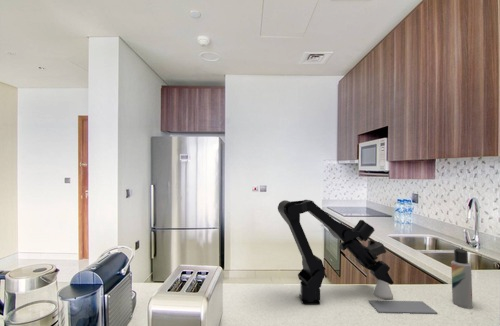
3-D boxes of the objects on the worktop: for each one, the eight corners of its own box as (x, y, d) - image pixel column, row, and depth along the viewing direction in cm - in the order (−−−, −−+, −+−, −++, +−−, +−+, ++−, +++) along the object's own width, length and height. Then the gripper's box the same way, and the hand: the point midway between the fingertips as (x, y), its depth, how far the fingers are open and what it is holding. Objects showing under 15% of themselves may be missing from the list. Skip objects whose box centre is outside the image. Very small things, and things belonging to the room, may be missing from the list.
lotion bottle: (468, 302, 95) (466, 248, 96) (475, 309, 90) (473, 252, 90) (449, 299, 97) (448, 246, 98) (456, 306, 91) (454, 250, 92)
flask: (396, 301, 95) (395, 274, 96) (375, 299, 97) (375, 272, 97) (389, 292, 103) (389, 267, 103) (370, 290, 104) (370, 265, 104)
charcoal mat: (378, 313, 87) (378, 311, 87) (368, 301, 95) (368, 300, 95) (437, 314, 86) (437, 312, 86) (422, 302, 94) (422, 301, 94)
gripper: (383, 241, 92) (415, 273, 91) (362, 230, 110) (388, 256, 109) (362, 263, 91) (393, 295, 91) (344, 248, 110) (370, 274, 109)
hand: (386, 278), depth 100 cm, fingers open, 9 cm apart
